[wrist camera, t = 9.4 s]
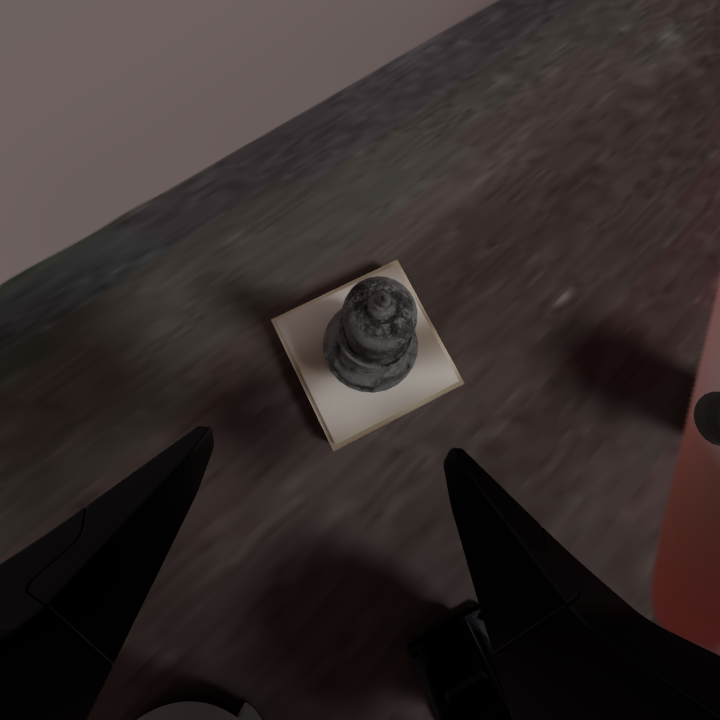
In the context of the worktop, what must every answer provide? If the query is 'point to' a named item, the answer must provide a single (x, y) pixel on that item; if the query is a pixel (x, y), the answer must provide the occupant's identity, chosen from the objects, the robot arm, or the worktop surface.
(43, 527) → the worktop surface
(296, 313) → the wooden tray
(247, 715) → the blender
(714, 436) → the beverage cup
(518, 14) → the worktop surface
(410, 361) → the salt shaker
